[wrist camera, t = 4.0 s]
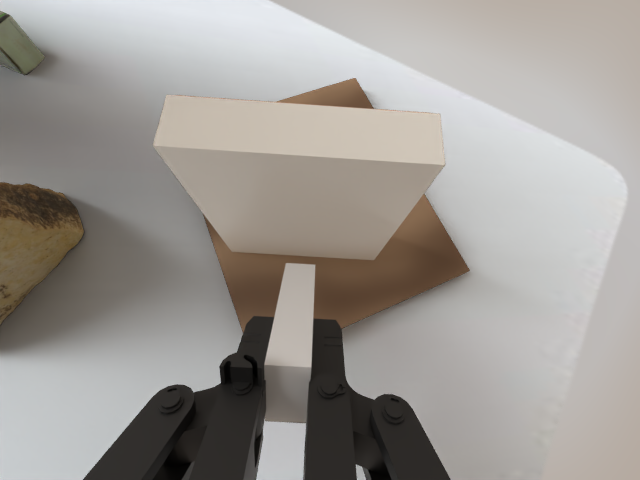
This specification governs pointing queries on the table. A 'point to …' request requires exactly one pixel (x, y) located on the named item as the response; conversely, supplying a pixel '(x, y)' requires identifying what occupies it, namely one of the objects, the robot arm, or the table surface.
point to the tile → (300, 171)
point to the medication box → (17, 47)
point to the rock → (32, 239)
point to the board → (347, 274)
